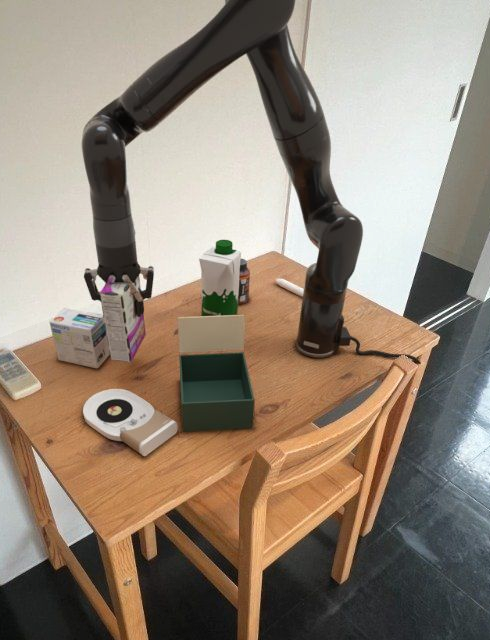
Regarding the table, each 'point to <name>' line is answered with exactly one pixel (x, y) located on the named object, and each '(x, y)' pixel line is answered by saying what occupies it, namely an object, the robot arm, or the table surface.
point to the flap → (211, 333)
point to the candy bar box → (122, 321)
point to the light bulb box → (80, 337)
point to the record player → (128, 420)
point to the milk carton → (220, 279)
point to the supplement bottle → (243, 282)
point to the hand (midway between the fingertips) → (124, 315)
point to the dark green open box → (215, 392)
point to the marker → (290, 287)
